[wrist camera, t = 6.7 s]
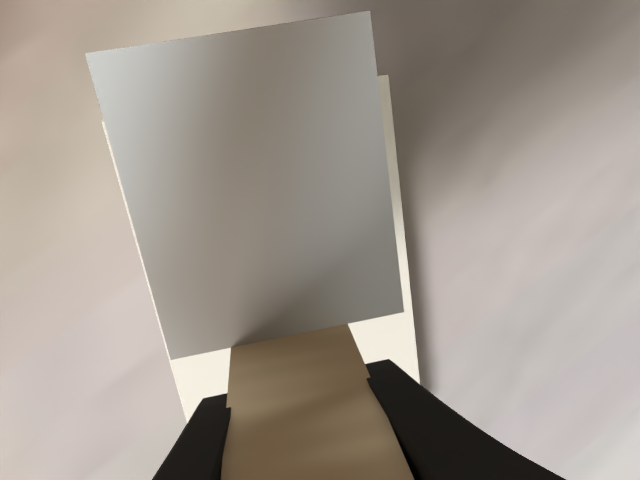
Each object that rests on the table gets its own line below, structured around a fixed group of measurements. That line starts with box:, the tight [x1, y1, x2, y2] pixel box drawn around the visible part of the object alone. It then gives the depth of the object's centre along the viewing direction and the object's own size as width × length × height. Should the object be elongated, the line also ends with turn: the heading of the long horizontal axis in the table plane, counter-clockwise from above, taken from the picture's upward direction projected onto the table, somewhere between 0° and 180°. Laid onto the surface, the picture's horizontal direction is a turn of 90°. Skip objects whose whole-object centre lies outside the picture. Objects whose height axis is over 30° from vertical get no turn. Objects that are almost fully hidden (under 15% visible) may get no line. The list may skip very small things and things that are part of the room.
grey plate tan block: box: [85, 11, 414, 480], centre depth 8 cm, size 5×8×6 cm, turn 9°
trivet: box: [102, 75, 420, 423], centre depth 16 cm, size 8×12×1 cm, turn 9°
